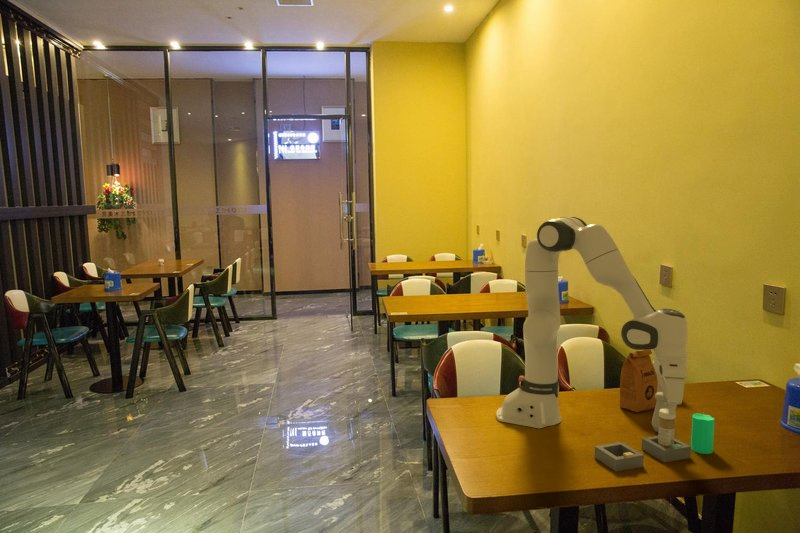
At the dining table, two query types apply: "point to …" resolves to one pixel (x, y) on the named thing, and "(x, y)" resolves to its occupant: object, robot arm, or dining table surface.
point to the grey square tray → (666, 449)
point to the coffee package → (638, 382)
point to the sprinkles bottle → (666, 428)
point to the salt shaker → (659, 406)
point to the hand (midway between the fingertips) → (669, 408)
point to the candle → (702, 433)
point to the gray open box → (626, 456)
